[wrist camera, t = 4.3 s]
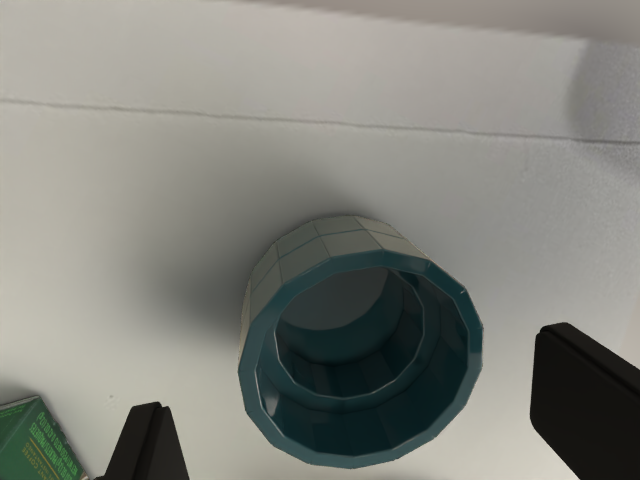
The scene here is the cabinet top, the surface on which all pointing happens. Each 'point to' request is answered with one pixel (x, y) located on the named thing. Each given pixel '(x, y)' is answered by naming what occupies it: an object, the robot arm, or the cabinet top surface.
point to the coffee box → (34, 444)
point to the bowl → (354, 344)
